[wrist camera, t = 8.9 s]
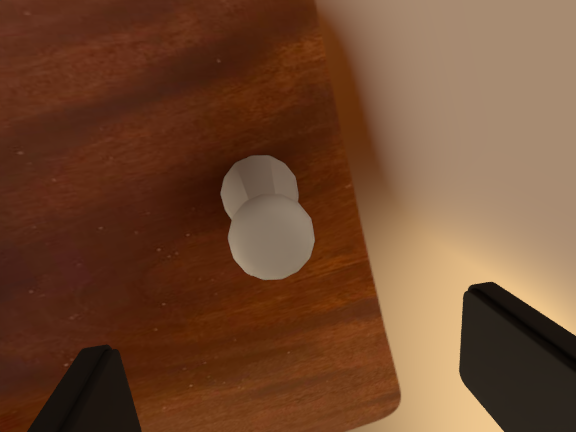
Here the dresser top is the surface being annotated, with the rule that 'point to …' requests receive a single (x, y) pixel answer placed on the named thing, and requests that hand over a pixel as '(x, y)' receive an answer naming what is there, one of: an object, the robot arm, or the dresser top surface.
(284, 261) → the salt shaker
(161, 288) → the dresser top surface
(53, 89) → the dresser top surface
